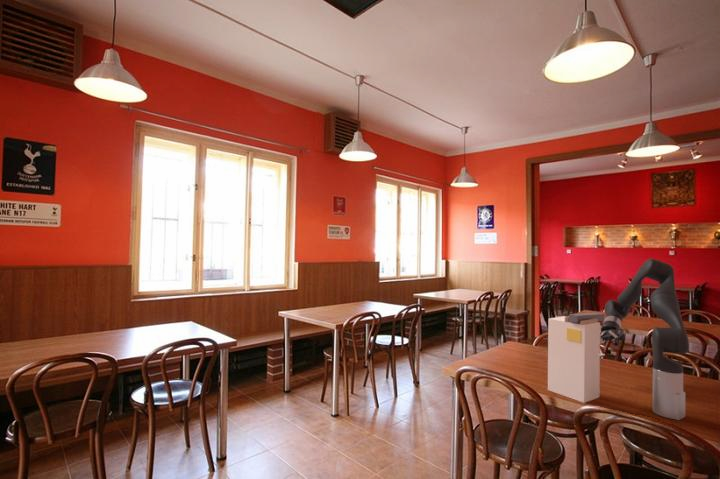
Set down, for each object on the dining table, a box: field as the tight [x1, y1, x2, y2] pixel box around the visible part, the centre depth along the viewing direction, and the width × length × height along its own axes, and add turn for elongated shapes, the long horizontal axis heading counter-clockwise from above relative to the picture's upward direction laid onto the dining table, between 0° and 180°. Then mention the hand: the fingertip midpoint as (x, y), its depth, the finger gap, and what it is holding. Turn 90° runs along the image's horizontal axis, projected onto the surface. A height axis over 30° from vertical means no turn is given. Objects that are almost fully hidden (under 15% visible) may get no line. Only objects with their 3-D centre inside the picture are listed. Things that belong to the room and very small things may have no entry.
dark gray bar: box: [568, 312, 605, 323], centre depth 166 cm, size 4×22×3 cm, turn 121°
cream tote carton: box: [547, 315, 601, 404], centre depth 167 cm, size 16×12×34 cm
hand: (605, 346), depth 177 cm, fingers open, 8 cm apart
